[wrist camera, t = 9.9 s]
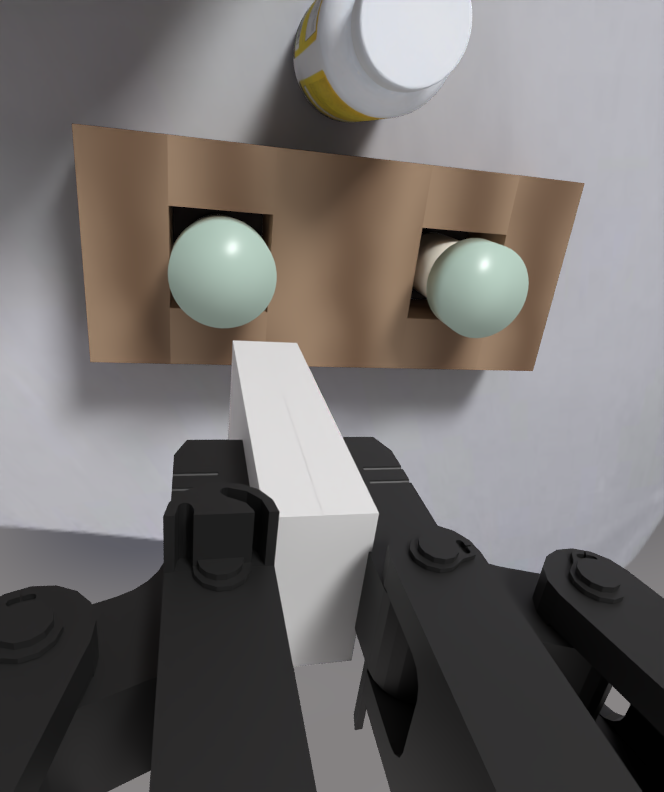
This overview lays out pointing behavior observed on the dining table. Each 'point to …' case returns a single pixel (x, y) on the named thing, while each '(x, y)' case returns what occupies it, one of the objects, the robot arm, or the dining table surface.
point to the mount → (306, 250)
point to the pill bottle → (378, 54)
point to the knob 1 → (221, 272)
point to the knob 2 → (470, 283)
